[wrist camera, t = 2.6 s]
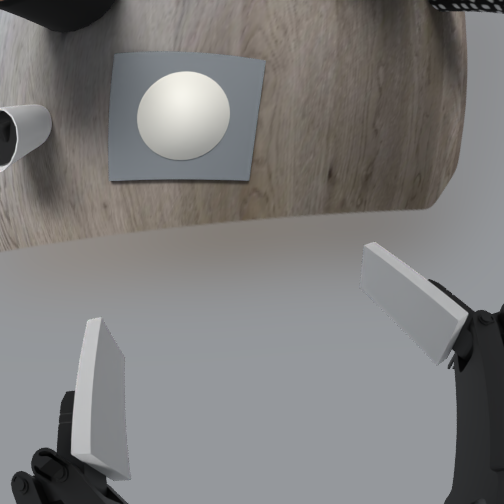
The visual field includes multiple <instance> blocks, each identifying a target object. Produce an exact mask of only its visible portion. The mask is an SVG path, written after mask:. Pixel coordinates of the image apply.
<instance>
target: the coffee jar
mask: <svg viewBox="0 0 504 504" xmlns="http://www.w3.org/2000/svg"><path fill="white" fill-rule="evenodd" d="M114 2H115V0H0V9H2V10H4V11H7V12H10V13H12V14H15V15H17V16H20V17H22V18H25V19H27V20H30V21H32V22H34V23H37V24H39V25H41V26H44V27H46V28H48V29H50V30H52V31H58V32H62V33H63V32H70V31H76V30H78V29H81V28H83V27H86V26H88V25H90V24H91V23H93V22H94V21H96V20H98V19H99V18H100V17H102V16H103V15H104V14H105V13H106V12H107V11H108V10H109V9H110V8H111V6H112V5H113V3H114Z"/></svg>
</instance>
